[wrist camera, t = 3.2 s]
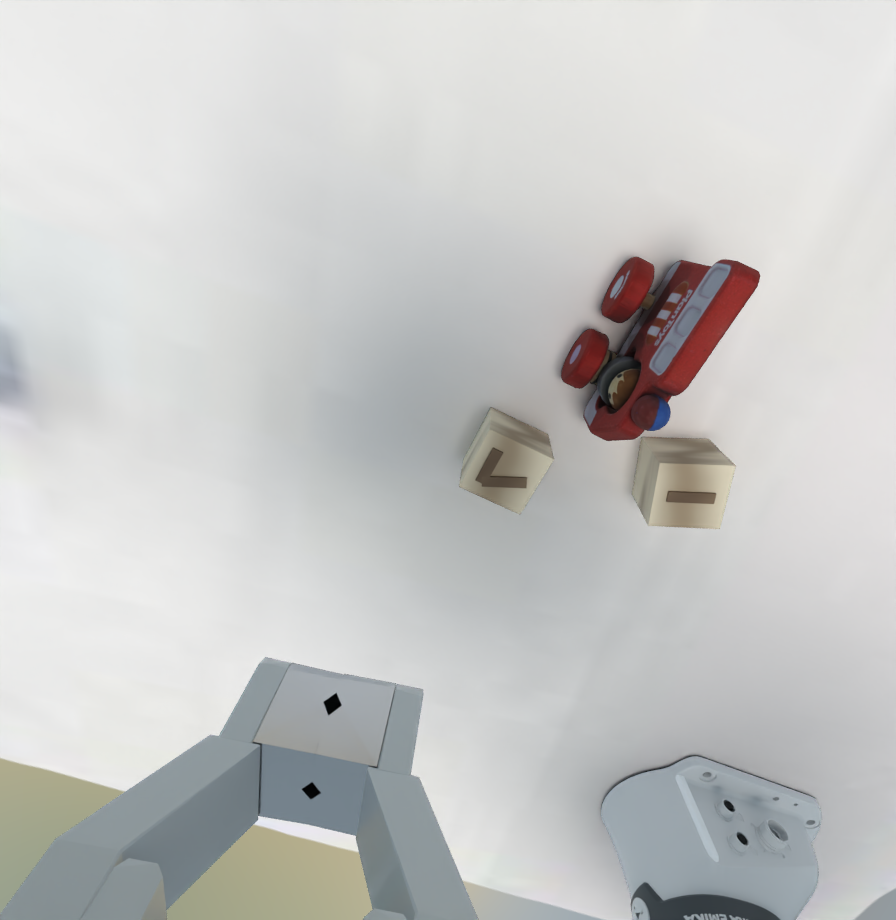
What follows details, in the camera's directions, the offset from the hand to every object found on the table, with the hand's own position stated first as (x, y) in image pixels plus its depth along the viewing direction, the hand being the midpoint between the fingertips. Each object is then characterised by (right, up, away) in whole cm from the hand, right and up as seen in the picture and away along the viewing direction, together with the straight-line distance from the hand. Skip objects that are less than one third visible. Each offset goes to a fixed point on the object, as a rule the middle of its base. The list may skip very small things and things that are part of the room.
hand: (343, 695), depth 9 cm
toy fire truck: (+15, +13, +27) cm, 34 cm away
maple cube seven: (+7, +5, +31) cm, 32 cm away
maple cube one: (+19, +4, +31) cm, 37 cm away
